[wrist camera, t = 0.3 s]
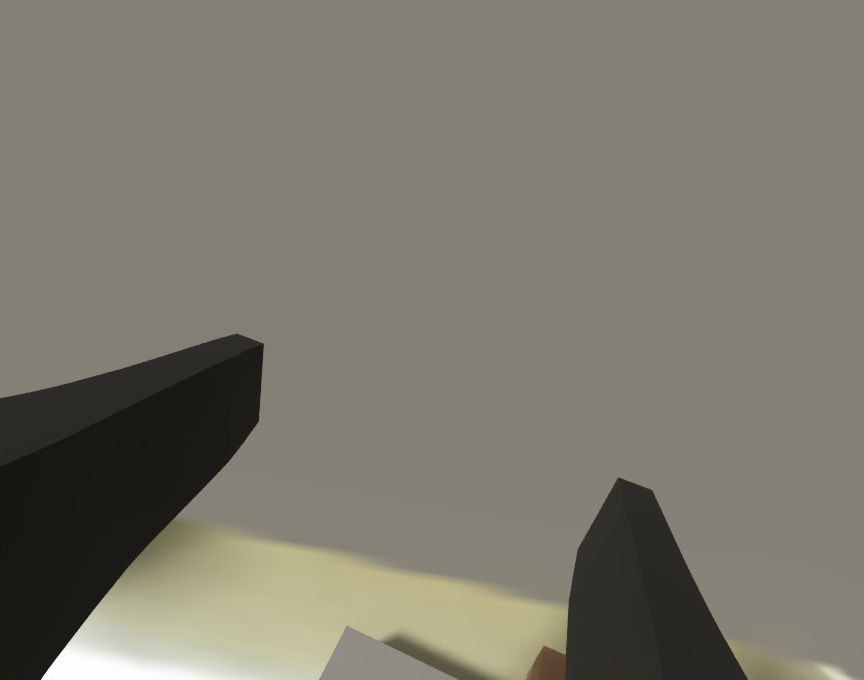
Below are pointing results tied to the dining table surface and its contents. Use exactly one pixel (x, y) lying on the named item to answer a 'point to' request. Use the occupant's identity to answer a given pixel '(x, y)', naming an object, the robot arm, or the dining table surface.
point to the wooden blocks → (548, 666)
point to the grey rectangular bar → (375, 661)
